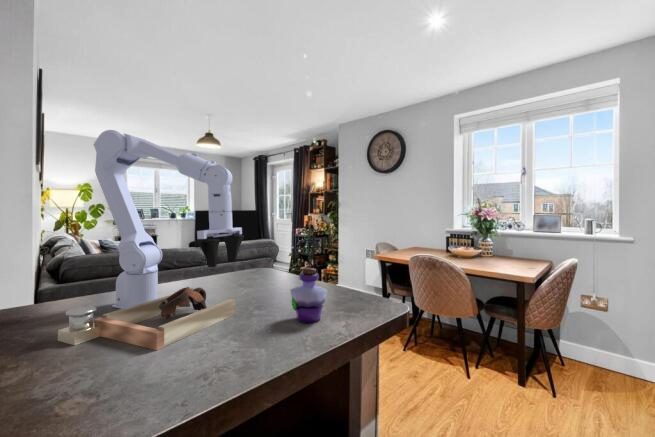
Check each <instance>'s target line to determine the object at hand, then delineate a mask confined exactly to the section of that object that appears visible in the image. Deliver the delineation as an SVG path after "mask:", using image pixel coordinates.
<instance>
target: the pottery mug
mask: <svg viewBox="0 0 655 437" xmlns="http://www.w3.org/2000/svg"><path fill="white" fill-rule="evenodd" d="M195 288H196V289H194V290H193V291H191V287H190V286H186V287H183V288H181V289H179V290H177V291H174V293H172V294H170V295H171V296H169V295H168V296H169V297H168V298H167V299H166V300H167V301H168V303H166V304H165V302H164V301H163V302H162V303H161V304H160V305H159V308H160V309H161V315H160V317H161V318H166V319H170V317H171V316H176V310H177V309H176V306H179V307H182V308H190V307H192V308H193V310H194V311H200V310H203V309H206V308H208V307H207V305H206V300H207V292H206V290H205V289H204V288H203V287H195ZM189 299H190V301H191V302H190V303H189ZM191 305H192V306H191Z"/></svg>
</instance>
